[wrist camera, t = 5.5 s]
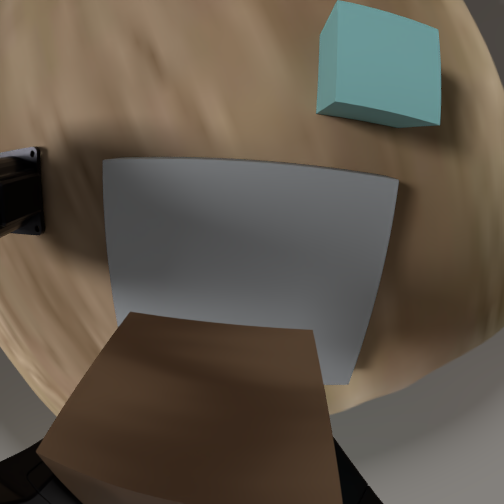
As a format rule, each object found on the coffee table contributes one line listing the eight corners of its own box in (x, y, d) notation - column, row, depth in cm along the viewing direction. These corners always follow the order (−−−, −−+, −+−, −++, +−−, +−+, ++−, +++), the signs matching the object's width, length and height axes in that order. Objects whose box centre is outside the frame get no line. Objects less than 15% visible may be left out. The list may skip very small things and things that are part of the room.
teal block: (315, 113, 15) (335, 101, 11) (319, 35, 13) (337, 0, 9) (397, 127, 15) (439, 125, 10) (399, 53, 13) (438, 29, 9)
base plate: (135, 346, 21) (125, 362, 19) (118, 157, 16) (102, 160, 15) (343, 366, 21) (348, 384, 19) (385, 175, 16) (398, 179, 14)
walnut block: (153, 420, 10) (114, 531, 5) (130, 311, 9) (35, 451, 3) (286, 436, 10) (288, 558, 5) (312, 329, 8) (343, 508, 3)
